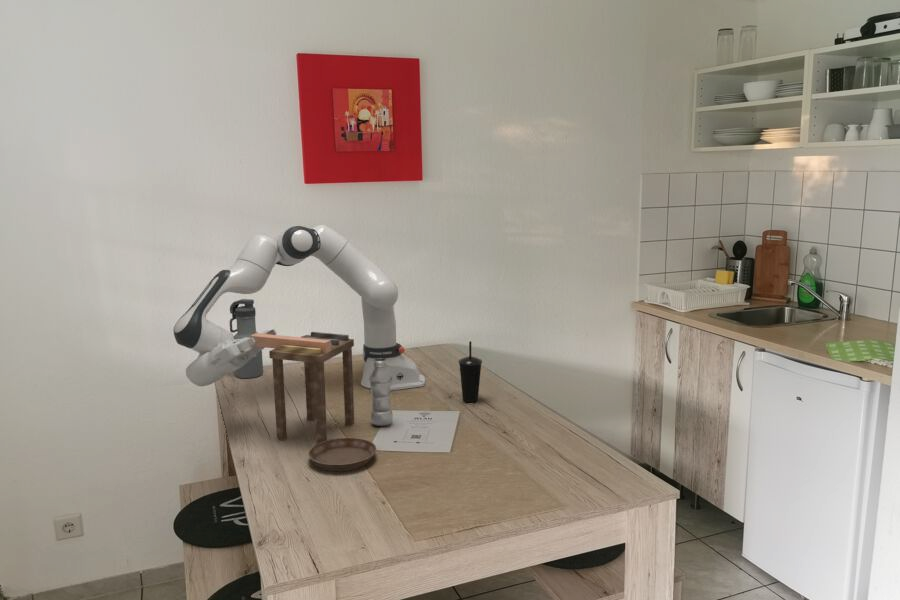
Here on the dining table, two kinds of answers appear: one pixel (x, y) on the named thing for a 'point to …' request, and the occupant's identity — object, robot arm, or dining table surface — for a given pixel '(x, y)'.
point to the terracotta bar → (290, 342)
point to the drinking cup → (470, 377)
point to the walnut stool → (313, 380)
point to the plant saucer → (342, 454)
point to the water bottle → (246, 335)
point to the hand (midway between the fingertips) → (264, 335)
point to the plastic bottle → (380, 393)
